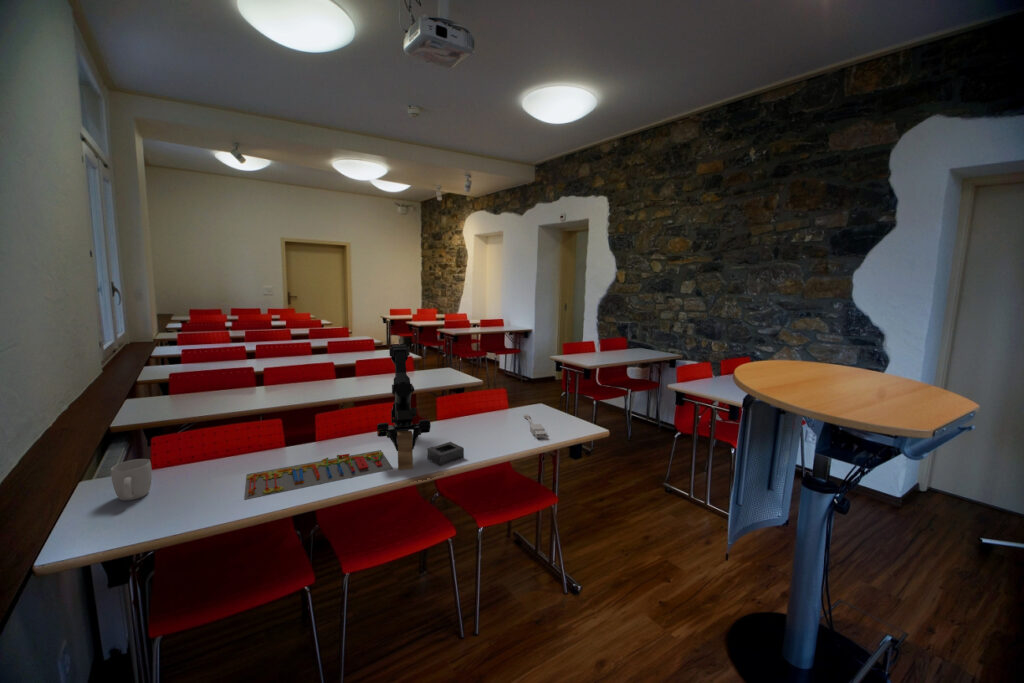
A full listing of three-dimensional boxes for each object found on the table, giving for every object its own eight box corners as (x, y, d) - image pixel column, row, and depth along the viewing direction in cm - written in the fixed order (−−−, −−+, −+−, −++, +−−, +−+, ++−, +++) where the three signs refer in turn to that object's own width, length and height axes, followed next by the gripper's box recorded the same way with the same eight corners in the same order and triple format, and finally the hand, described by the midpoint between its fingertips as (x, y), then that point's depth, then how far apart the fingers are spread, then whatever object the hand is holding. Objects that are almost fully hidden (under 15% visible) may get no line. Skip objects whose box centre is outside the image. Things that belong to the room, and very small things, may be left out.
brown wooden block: (398, 466, 152) (397, 431, 150) (412, 464, 154) (411, 430, 152) (398, 469, 149) (397, 434, 148) (412, 468, 151) (412, 433, 149)
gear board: (380, 445, 166) (393, 464, 150) (380, 451, 167) (393, 470, 150) (246, 469, 144) (243, 493, 127) (246, 475, 144) (244, 501, 128)
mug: (118, 493, 130) (114, 462, 129) (155, 486, 135) (152, 456, 134) (107, 512, 120) (103, 478, 118) (148, 503, 125) (145, 471, 123)
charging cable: (530, 418, 212) (530, 411, 212) (547, 438, 181) (547, 431, 180) (520, 418, 212) (520, 412, 211) (535, 439, 180) (535, 431, 180)
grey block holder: (427, 458, 159) (427, 448, 158) (450, 451, 166) (450, 441, 166) (440, 466, 153) (440, 455, 152) (463, 458, 160) (463, 448, 160)
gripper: (376, 401, 149) (376, 443, 140) (429, 398, 155) (433, 437, 146) (377, 416, 158) (377, 456, 149) (427, 412, 163) (431, 450, 154)
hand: (405, 449), depth 149 cm, fingers closed on brown wooden block, 5 cm apart
